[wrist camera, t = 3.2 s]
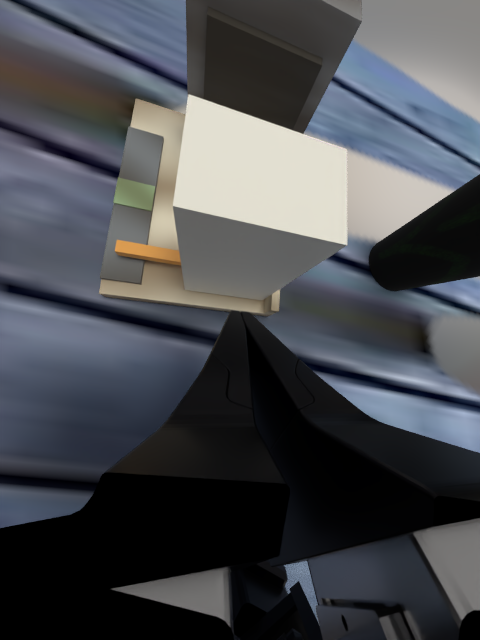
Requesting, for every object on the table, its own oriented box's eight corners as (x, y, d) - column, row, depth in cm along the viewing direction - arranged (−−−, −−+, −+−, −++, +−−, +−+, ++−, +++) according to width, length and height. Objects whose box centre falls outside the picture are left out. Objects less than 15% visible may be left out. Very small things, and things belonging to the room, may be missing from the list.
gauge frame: (267, 316, 17) (366, 278, 7) (105, 296, 14) (-78, 194, 5) (277, 155, 19) (360, -34, 10) (139, 112, 17) (64, -211, 7)
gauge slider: (262, 300, 16) (347, 245, 7) (116, 280, 13) (-21, 162, 5) (265, 253, 16) (346, 149, 8) (126, 226, 14) (18, 34, 5)
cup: (347, 262, 20) (568, 145, 8) (383, 218, 22) (604, 71, 10) (397, 316, 20) (668, 277, 9) (428, 268, 22) (684, 184, 11)
